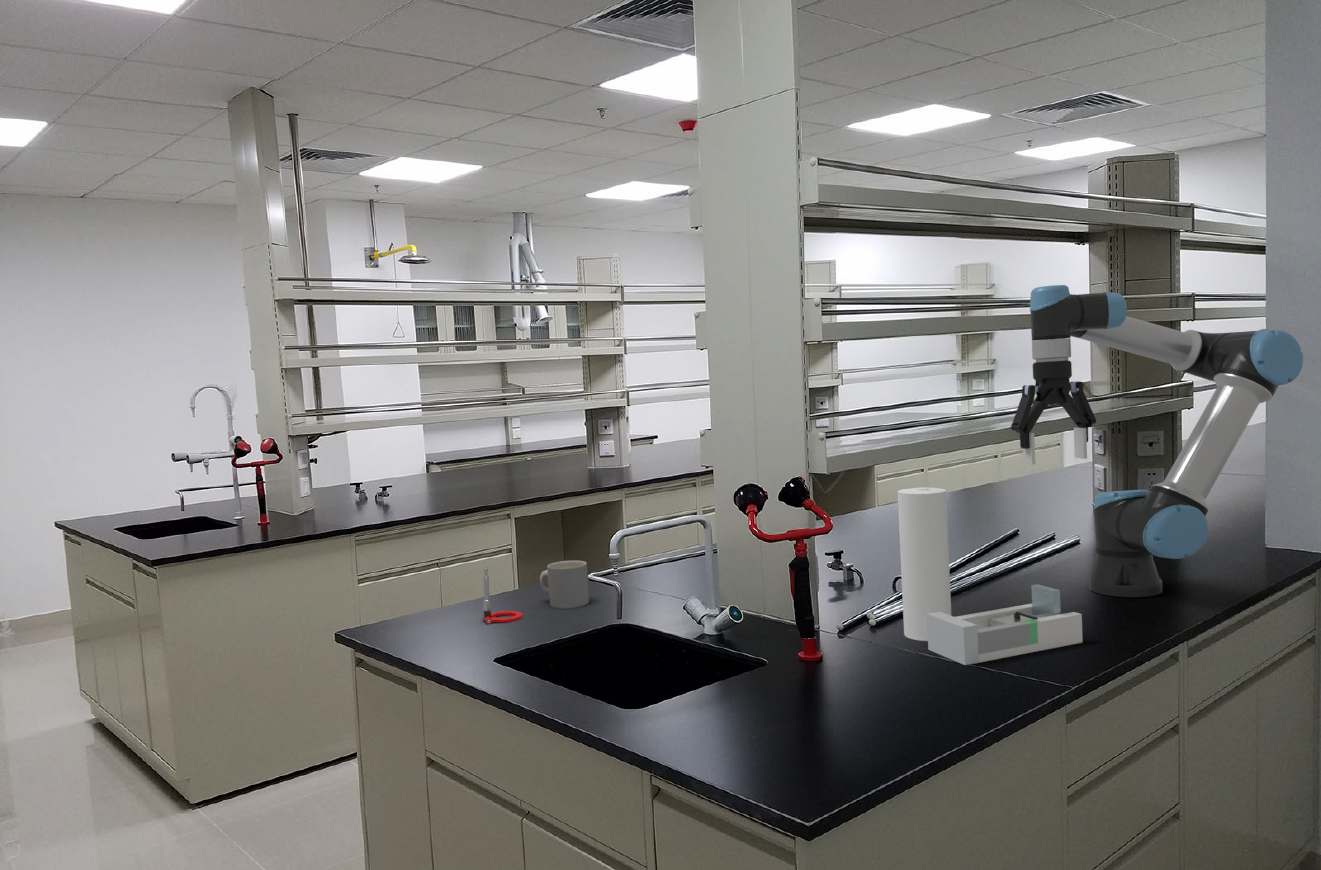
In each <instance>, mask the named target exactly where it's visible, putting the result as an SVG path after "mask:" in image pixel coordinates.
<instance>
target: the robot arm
mask: <svg viewBox="0 0 1321 870" xmlns="http://www.w3.org/2000/svg"><path fill="white" fill-rule="evenodd" d="M1029 301H1030V302H1029V312H1030V328H1031V329H1030V330H1031V332H1030V333H1031V351H1032V352H1031V355H1032V357H1031V358H1032V360H1034V361H1035V362H1033V364H1032V379H1033V380H1034V382H1035V384H1034V385H1033V384H1026V385H1025V384H1024V385H1022V388H1021V389H1022V390H1021V397H1020V400H1019V404H1018V406H1017V408H1016V412H1015V414H1014V416H1013V417H1014V418H1013V420H1012V422H1011V425H1010V430H1011V431H1014V432H1015V433H1016V434H1019V446H1020V449H1022V463H1023V465H1032V466H1033V465H1036V449H1035V447H1036V446H1035V444H1036V443H1035V433H1034V432H1032V430H1033V428H1034V427H1035V425H1036V424H1037V422H1038V420H1039V418H1040V417H1041V415H1042V414H1043V412H1044V410H1045V409H1046V408H1048V406H1055V405H1059V406H1061V407H1062V408H1063V409H1064V411H1065V413H1067V414H1068V415H1067V416H1069V418H1070V419H1071V420H1072V422H1073V423H1074V424H1075V425H1076V427H1074V428H1073V445H1074V448H1073V449H1074V459H1083V460H1087V459H1088V450H1087V449H1088V448H1087V447H1088V446H1087V445H1088V444H1087V443H1088V442H1089V428H1092V427H1093V425H1094V424H1096V423H1097V419H1096V417H1095V415H1094V414H1095V413H1094V412H1093V409H1092V407H1091V405H1090V403H1089V401H1088V398H1087V396H1086V394H1085V392H1084V384H1083V381H1082V380H1081V381H1078V380H1076V381H1070V379H1071V378H1072V376H1073V372H1072V369H1073V368H1072V367H1073V366H1072V361H1071V360H1069V358H1071V357H1072V344H1071V337H1073V338H1077V339H1079V340H1080V339H1081V340H1084V341H1088V342H1092V343H1095V344H1098V345H1102V346H1105V347H1109V348H1112V349H1116V350H1119V351H1123V352H1127V353H1130V354H1135V355H1138V356H1141V357H1145V358H1149V359H1152V360H1156V361H1160V362H1162V363H1166V364H1170V365H1171V367H1172V368H1173V369H1174V370H1175V371H1177V372H1182V373H1185V374H1189V375H1191V376H1193V377H1198V378H1201V379H1205V380H1208V381H1211V382H1214V383H1215V385H1216V389H1215V391H1214V392H1213V394H1212V395H1211V397H1210V399H1209V401H1208V403H1207V405H1206V406H1205V408H1204V410H1203V411H1202V414H1201V415H1200V416H1199V418H1198V420H1197V422H1196V424H1195V426H1194V427H1193V429H1192V431H1191V433H1190V434H1189V437H1188V438H1187V440H1186V442H1185V443H1184V446H1183V447H1182V449H1181V451H1180V452H1179V454H1178V455H1177V458H1176V459H1175V462H1174V463H1173V465H1172V466H1171V468H1170V470H1169V472H1168V473H1167V475H1166V476H1165V479H1164V480H1163V482H1159V483H1156V484H1153V485H1152V486H1151V488H1150V490H1148V489H1131V490H1130V489H1127V490H1116V491H1115V490H1114V491H1106V492H1105V491H1104V492H1099V493H1097V494H1096V495H1095V497H1094V504H1093V505H1094V506H1093V511H1094V526H1095V527H1094V529H1095V533H1094V534H1095V559H1094V563H1093V565H1092V571H1091V574H1090V575H1089V578H1088V590H1089V591H1092V592H1094V593H1096V594H1100V595H1105V596H1110V597H1117V598H1119V597H1120V598H1144V597H1145V598H1146V597H1152V596H1153V597H1154V596H1157V595H1160V594H1162V593H1163V581H1162V578H1161V577H1160V576H1159V572H1158V570H1157V569H1158V568H1157V566H1156V562H1155V560H1154V556H1155V557H1158V558H1163V559H1171V560H1173V559H1174V560H1178V559H1179V560H1180V559H1184V558H1188V557H1190V556H1193V555H1194V554H1196V553H1197V552H1198V551H1200V549H1202V547H1203V546H1204V545H1205V542H1206V541H1207V539H1208V536H1209V528H1208V525H1209V522H1208V519H1207V518H1206V517H1207V514H1208V512H1209V507H1208V504H1207V502H1206V499H1207V498H1208V496H1209V494H1210V492H1211V491H1212V490H1213V487H1214V486H1215V483H1216V482H1217V480H1218V478H1219V476H1220V475H1221V472H1223V469H1224V468H1225V465H1226V464H1227V463H1228V460H1229V459H1230V456H1232V453H1233V452H1234V449H1235V448H1236V446H1237V444H1238V442H1239V441H1240V440H1241V437H1242V435H1244V434H1243V433H1244V431H1245V430H1246V428H1247V427H1248V424H1249V423H1250V421H1251V419H1252V417H1253V416H1254V414H1255V412H1256V410H1257V408H1258V407H1259V405H1260V404H1263V403H1266V402H1269V401H1271V400H1272V398H1273V397H1274V394H1275V393H1276V392H1277V390H1278V389H1279V386H1284V385H1287V384H1289V383H1292V382H1293V381H1295V380H1296V379H1297V378H1298V377H1299V376H1300V374H1301V372H1302V369H1303V366H1304V354H1303V352H1302V351H1301V350H1302V349H1301V348H1302V347H1301V345H1300V343H1299V341H1298V340H1297V338H1295V337H1294V336H1293V335H1292V334H1290V333H1289V332H1287V331H1284V330H1281V329H1269V328H1262V329H1259V330H1249V331H1233V332H1203V331H1198V330H1193V329H1188V330H1185V331H1180V330H1177V329H1174V328H1170V327H1167V326H1163V325H1159V324H1156V323H1152V322H1149V321H1145V320H1142V319H1138V318H1135V317H1130V316H1128V315H1127V313H1128V309H1127V307H1128V305H1127V301H1126V299H1125V297H1124V296H1123V295H1122V294H1120V293H1118V292H1107V291H1104V292H1096V293H1095V292H1094V293H1093V292H1091V293H1080V294H1072V293H1071V292H1070V288H1069V286H1068V285H1065V284H1058V285H1057V284H1056V285H1055V284H1054V285H1045V286H1037V287H1035V288H1033V289H1032V290H1031V292H1030V300H1029Z"/></svg>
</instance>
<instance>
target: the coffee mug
mask: <svg viewBox="0 0 1321 870" xmlns="http://www.w3.org/2000/svg"><path fill="white" fill-rule="evenodd" d="M587 564H588V563H587V562H586V561H583V560H563V561H556V562H552V563H550V564H548V565H547V568H546V570H543V571H542V572H541V573H540V575H539V585H540V588H541V590H542V592H544V593H546V594H548V596H549V606H550V607H551V608H554V609H560V610H564V609H574V608H579V607H584V606H586V604H587V605H588V604H589V603H590V590H589V577H588V565H587ZM547 582H548V584H547Z"/></svg>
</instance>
